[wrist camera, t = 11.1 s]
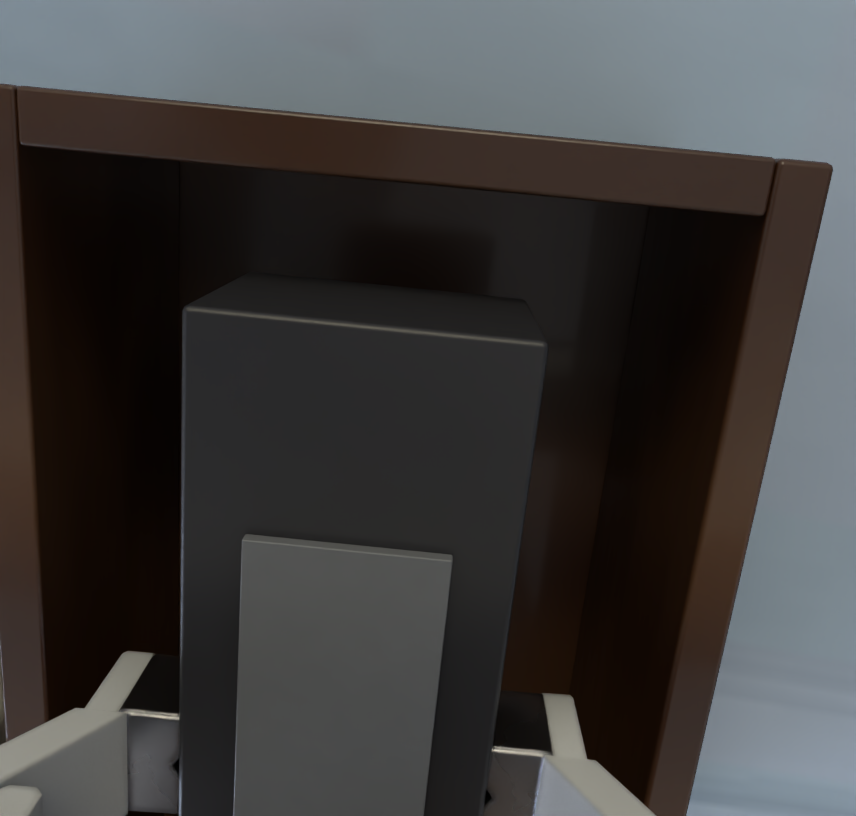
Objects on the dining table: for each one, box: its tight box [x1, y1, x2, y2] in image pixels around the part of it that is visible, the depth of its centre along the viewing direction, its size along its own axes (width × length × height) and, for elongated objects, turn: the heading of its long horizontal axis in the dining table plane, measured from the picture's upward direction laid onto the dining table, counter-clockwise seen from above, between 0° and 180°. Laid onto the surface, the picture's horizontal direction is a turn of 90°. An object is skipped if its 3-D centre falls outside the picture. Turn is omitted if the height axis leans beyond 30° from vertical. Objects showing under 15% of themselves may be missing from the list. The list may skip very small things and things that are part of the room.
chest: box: [0, 84, 833, 816], centre depth 18 cm, size 19×12×8 cm, turn 175°
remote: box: [179, 272, 549, 816], centre depth 14 cm, size 14×5×4 cm, turn 175°
